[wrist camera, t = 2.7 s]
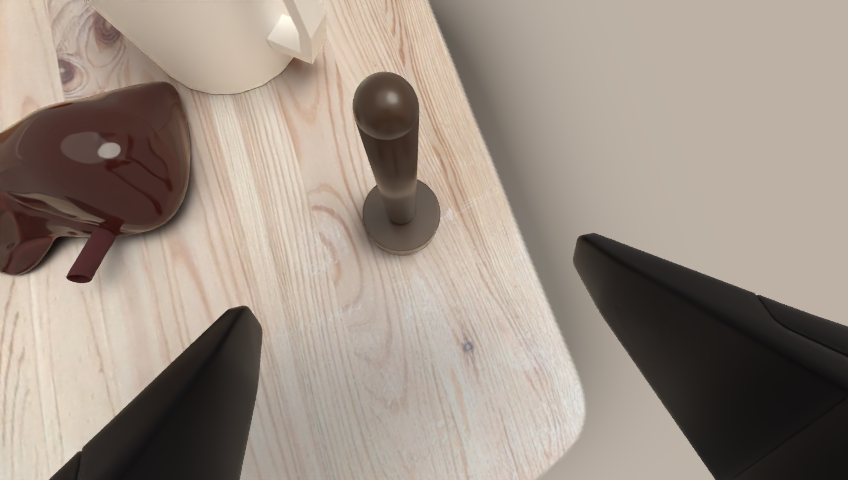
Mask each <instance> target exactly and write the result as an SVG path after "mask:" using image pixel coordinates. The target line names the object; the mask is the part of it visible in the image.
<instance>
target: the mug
mask: <svg viewBox="0 0 848 480" xmlns="http://www.w3.org/2000/svg"><path fill="white" fill-rule="evenodd" d="M85 1H86V2H87V3H88V4H89V5H90V6H91V7H93V8H94V9H95V10H96V11H97V12H98V13H99V14H100V15H102V16H103V17H104V18H105V19H106V20H107V21H108V22H110V23H111V24H112V25H113V26H114V27H115V28H116V29H117V30H119V31H120V32H121V33H122V34H123V35H124V36H125V37H126V38H128V39H129V40H130V41H131V42H132V43H133V44H134V45H136V46H137V47H138V48H139V49H140V50H141V51H142V52H143V53H145V54H146V55H147V56H148V57H149V58H150V59H151V60H153V61H154V62H155V63H156V64H157V65H158V66H159V67H160V68H162V69H163V70H164V71H165V72H166V73H167V74H168V75H170V76H171V77H172V78H174V79H175V80H177V81H179V82H180V83H182V84H183V85H185V86H187V87H188V88H190V89H193V90H197V91H201V92H205V93H209V94H214V95H215V94H239V93H242V92H245V91H248V90H251V89H254V88H257V87H260V86H263V85H264V84H265V83H267V82H268V81H270V80H271V79H273V78H274V77H276V76H277V75H279V74H280V73H282V72H283V70H284V69H285V68H286V66H287V65H288V64H289V63H290V61H291V60H292V59H293V58H294V57H295V58H298V59H300V60H302V61H305V62H307V63H310V64H313V63H314V61H315V59H316V57H317V55H318V53H319V52H320V50H321V48H322V46H323V44H324V42H325V41H326V14H327V11H326V9H325V6H324V3H323V0H85Z"/></svg>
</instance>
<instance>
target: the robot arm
mask: <svg viewBox="0 0 848 480" xmlns="http://www.w3.org/2000/svg"><path fill="white" fill-rule="evenodd" d="M573 263H574V266H575V268H576V270H577V272H578V274H579V276H580V278H581V279H582V281H583V283H584V285H585V287H586V289H587V290H588V292H589V294H590V296H591V298H592V299H593V301H594V303H595V305H596V307H597V308H598V310H599V312H600V313H601V315H602V316H603V318H604V319H605V321H606V322H607V324H608V325H609V327H610V328H611V330H612V331H613V332H614V334H615V335H616V337H617V338H618V340H619V341H620V342H621V344H622V346H623V347H624V348H625V350H626V351H627V352H628V354H629V356H630V357H631V358H632V360H633V361H634V363H635V364H636V366H637V367H638V369H639V370H640V371H641V373H642V374H643V376H644V377H645V379H646V380H647V382H648V383H649V385H650V386H651V387H652V389H653V390H654V392H655V393H656V394H657V396H658V398H659V399H660V400H661V402H662V403H663V405H664V406H665V408H666V409H667V410H668V412H669V413H670V415H671V416H672V418H673V419H674V420H675V422H676V423H677V425H678V426H679V428H680V429H681V431H682V432H683V434H684V435H685V436H686V438H687V439H688V441H689V442H690V444H691V445H692V447H693V448H694V449H695V451H696V452H697V454H698V455H699V456H700V458H701V460H702V461H703V462H704V464H705V465H706V467H707V468H708V470H709V471H710V473H711V474H712V475H713V477H714V478H715V480H848V327H847V326H845V325H842V324H839V323H836V322H833V321H830V320H827V319H824V318H821V317H818V316H815V315H812V314H809V313H807V312H804V311H801V310H798V309H795V308H793V307H790V306H787V305H785V304H781V303H779V302H777V301H774V300H771V299H769V298H766V297H763V296H761V295H755V294H754V293H752V292H749V291H747V290H745V289H742V288H739V287H737V286H734V285H731V284H728V283H726V282H723V281H721V280H718V279H715V278H713V277H710V276H707V275H705V274H702V273H699V272H697V271H694V270H691V269H689V268H686V267H684V266H681V265H678V264H676V263H673V262H670V261H668V260H665V259H662V258H659V257H657V256H654V255H652V254H649V253H646V252H644V251H641V250H638V249H635V248H633V247H630V246H628V245H625V244H622V243H620V242H617V241H614V240H612V239H609V238H606V237H604V236H601V235H598V234H596V233H591V234H586V235H582V236H579V238H578V239H577V243H576V247H575V252H574V257H573ZM261 346H262V327H261V325H260V323H259V322H258V320H257V319H256V317H255V316H254V314H253V313H252V311H251V310H250V309H249V307H247V306H239V307H235V308H231V309H228V310H227V311H226V312H225V313H224V314H223V315H222V316H220V317H219V318H218V319H217V320H216V321H215V322H214V323H213V324H212V325H211V326H210V327H209V328H208V329H207V330H206V331H205V332H204V333H203V334H202V335H201V336H199V337H198V338H197V339H196V340H195V341H194V342H193V343H192V344H191V345H190V346H189V347H188V348H187V349H186V350H185V351H184V352H183V353H182V354H181V355H180V356H178V357H177V358H176V359H175V360H174V361H173V362H172V363H171V364H170V365H169V366H168V367H167V368H166V369H165V370H164V371H163V372H162V373H161V374H160V375H159V376H157V377H156V378H155V379H154V380H153V381H152V382H151V383H150V384H149V385H148V386H147V387H146V388H145V389H144V390H143V391H142V392H141V393H140V394H139V395H138V396H136V397H135V398H134V399H133V400H132V401H131V402H130V403H129V404H128V405H127V406H126V407H125V408H124V409H123V410H122V411H121V412H120V413H119V414H118V415H116V416H115V417H114V418H113V419H112V420H111V421H110V422H109V423H108V424H107V425H106V426H105V427H104V428H103V429H102V430H101V431H100V432H99V433H98V434H97V435H95V436H94V437H93V438H92V439H91V440H90V441H89V442H88V443H87V444H86V445H85V446H84V447H83V449H82V451H79V452H78V453H76V454H75V455H74V456H73V457H72V458H71V459H70V460H69V461H68V462H67V463H66V464H65V465H64V466H63V467H62V468H61V469H60V470H59V471H58V472H57V473H55V474H54V475H53V476H52V477H51V478H50V479H49V480H240V475H241V470H242V465H243V460H244V455H245V450H246V445H247V440H248V435H249V430H250V425H251V420H252V415H253V410H254V405H255V400H256V395H257V389H258V381H259V369H260V357H261Z"/></svg>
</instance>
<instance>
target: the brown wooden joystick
mask: <svg viewBox="0 0 848 480" xmlns="http://www.w3.org/2000/svg"><path fill="white" fill-rule="evenodd" d="M353 114H354V118H355V121H356V124H357V127H358V130H359V133H360V136H361V139H362V142H363V145H364V148H365V151H366V153H367V156H368V159H369V162H370V165H371V168H372V171H373V174H374V177H375V180H376V183H377V185H376V186H375V187H374V188H373V189H372V190H371V191H370V193H369V194H368V196H367V198H366V200H365V203H364V206H363V222H364V225H365V228H366V230H367V232H368V234H369V235H370V237H371V238H372V239H373V240H374V242H375V243H376V244H377V245H378V246H379V247H380V248H382V249H383V250H385V251H386V252H389V253H391V254H395V255H410V254H414V253H416V252H418V251H420V250H422V249H423V248H425V247H426V246H427V245H428V244H429V243H430V242H431V240H432V239H433V237H434V235H435V233H436V230H437V228H438V225H439V221H440V207H439V203H438V200H437V198H436V196H435V194H434V193H433V191H432V190H431V189H430V188H429V187H428V186H427V185H426V184H424V183H423V182H421V181H420V180H417V159H418V130H419V103H418V98H417V95H416V93H415V91H414V89H413V87H412V86H411V85H410V84H409V83H408V82H407V81H406V80H405V79H404V78H403V77H401V76H399V75H397V74H395V73H391V72H378V73H374V74H372V75H370V76H368V77H366V78H365V79H364V80H363V81H362V82H361V83H360V85H359V86H358V88H357V89H356V92H355V94H354V99H353Z"/></svg>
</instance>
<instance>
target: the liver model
mask: <svg viewBox="0 0 848 480" xmlns="http://www.w3.org/2000/svg"><path fill="white" fill-rule="evenodd" d="M189 174H190V137H189V129H188V125H187V121H186V117H185V113H184V110H183V107H182V104H181V100H180V96H179V94H178V92H177V90H176V89H175V87H174V86H173V85H171V84H170V83H167V82H149V83H143V84H137V85H132V86H128V87H124V88H119V89H115V90H112V91H108V92H104V93H101V94H97V95H94V96H90V97H86V98H82V99H76V100H70V101H65V102H60V103H56V104H52V105H49V106H45V107H43V108H40V109H38V110H36V111H34V112H32V113H30V114H28V115H27V116H25V117H24V118H22V119H21V120H19V121H17V122H16V123H14V124H12V125H11V126H9V127H8V128H6V129H5V130H3V131H2V132H0V272H1V273H4V274H8V275H20V274H23V273H25V272H27V271H29V270H31V269H32V268H34V267H35V266H36V265H37V264H38V263H39V262H40V261H41V260H42V258H43V257H44V256H45V254H46V253H47V252H48V250H49V249H50V247H51V246H52V244H53V243H54V241H55V239H56V238H57V237H61V236H75V237H90V238H89V239H88V241H87V243H86V244H85V246H84V247H83V249H82V251H81V253H80V254H79V256H78V258H77V259H76V261H75V263H74V264H73V266H72V268H71V269H70V271H69V273H68V275H67V276H66V278H67V279H68V280H70V281H72V282H76V283H87V282H90V281H91V280H92V278H93V276H94V274H95V273H96V271H97V269H98V267H99V265H100V264H101V262H102V260H103V258H104V257H105V255H106V253H107V252H108V250H109V249H110V247H111V246H112V244H113V242H114V240H115V239H116V237H117V236H127V235H133V234H137V233H141V232H145V231H149V230H153V229H155V228H158V227H160V226H161V225H163V224H165V223H166V222H167V221H169V220H170V219H171V218H172V217H173V216H174V214H175V213H176V212H177V210H178V209H179V207H180V205H181V204H182V201H183V199H184V197H185V194H186V191H187V187H188V182H189Z"/></svg>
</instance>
